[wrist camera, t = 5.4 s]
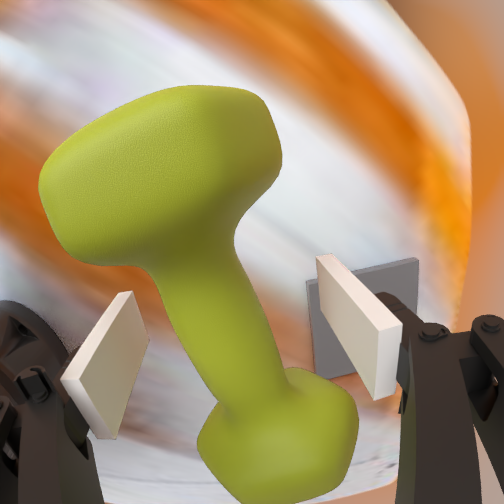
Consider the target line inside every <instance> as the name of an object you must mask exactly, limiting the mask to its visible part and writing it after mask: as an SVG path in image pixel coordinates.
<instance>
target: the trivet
mask: <svg viewBox="0 0 504 504" xmlns="http://www.w3.org/2000/svg"><path fill="white" fill-rule="evenodd" d="M351 273H352V274H353V275H354V276H355V277H356V278H357V279H358V280H359V281H360V282H361V283H362V284H364V285H365V286H366V287H367V288H368V289H369V290H370V291H371V292H372V293H373V294H376V293H380V292H387V293H389V294H392V295H394V296H396V297H397V298H398V299H399V300H400V301H401V302H402V303H403V304H405V305H406V306H407V308H409V309H410V310H411V311H412V312H413V313H414V314H415V315H416V312H417V297H418V275H419V260H418V259H416V258H414V257H413V258H409V259H405V260H400V261H396V262H392V263H387V264H383V265H378V266H374V267H369V268H365V269H360V270H356V271H351ZM306 287H307V296H308V305H309V315H310V325H311V335H312V346H313V358H314V370H315V374H317V375H319V376H321V377H323V378H325V379H331V378H335V377H339V376H343V375H347V374H350V373H354V372H357V370H356V369H355V367H354V365H353V363H352V362H351V360H350V358H349V357H348V355H347V353H346V351H345V350H344V348H343V346H342V345H341V343H340V341H339V340H338V338H337V336H336V334H335V333H334V331H333V329H332V328H331V326H330V324H329V323H328V321H327V319H326V318H325V316H324V314H323V313H322V311H321V307H320V296H319V285H318V279H313V280H308V281H306Z"/></svg>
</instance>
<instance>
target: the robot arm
mask: <svg viewBox="0 0 504 504" xmlns="http://www.w3.org/2000/svg"><path fill="white" fill-rule="evenodd" d="M316 265H317V275H318V285H319V296H320V307H321V311H322V313H323V314H324V316H325V318H326V319H327V321H328V323H329V324H330V326H331V328H332V329H333V331H334V333H335V334H336V336H337V338H338V340H339V341H340V343H341V345H342V346H343V348H344V350H345V351H346V353H347V355H348V357H349V358H350V360H351V362H352V363H353V365H354V367H355V369H356V370H357V372H358V374H359V376H360V377H361V379H362V381H363V383H364V384H365V386H366V388H367V390H368V391H369V393H370V395H371V397H372V398H373V400H374V401H375V400H378V399H381V398H384V397H387V396H389V395H392V394H395V390H396V383H397V381H398V383H399V384H400V386H401V387H402V389H403V390H402V396H401V401H400V407H399V412H398V414H401V435H400V455H399V469H398V481H397V491H396V499H395V504H482V496H481V481H480V471H479V460H478V452H477V446H476V438H475V432H474V426H475V428H476V430H477V432H478V435H479V437H480V439H481V441H482V443H483V445H484V448H485V450H486V452H487V454H488V457H489V459H490V461H491V464H492V466H493V469H494V471H495V473H496V476H497V478H498V481H499V483H500V486H501V489H502V491H503V494H504V320H503V319H502V318H500V317H497V316H495V315H481V316H479V317H477V318H475V319H474V321H473V323H472V328H471V331H467V332H460V333H451V332H450V331H449V329H448V328H446V327H445V326H443V325H440V324H437V323H424V322H423V321H422V320H421V319H420V318H419V317H418V316H417V315H415V314H414V313H413V312H412V311H411V310H410V309H409V308H407V306H406V305H405V304H403V303H402V302H401V301H400V300H399V299H398V298H397V297H396V296H394V295H392V294H389V293H387V292H380V293H376V294H373V293H372V292H371V291H370V290H369V289H368V288H367V287H366V286H365V285H364V284H362V283H361V282H360V281H359V280H358V279H357V278H356V277H355V276H354V275H353V274H352V273H351V272H350V271H349V270H348V269H347V268H346V267H345V266H344V265H343V264H342V263H341V262H340V261H339V260H338V259H337V258H336V257H335V256H333V255H332V254H327V255H322V256H316ZM149 341H150V339H149V337H148V334H147V331H146V328H145V326H144V323H143V320H142V317H141V314H140V311H139V308H138V305H137V302H136V299H135V296H134V293H133V291H127V292H121V293H118V294H117V296H116V297H115V298H114V300H113V301H112V303H111V304H110V305H109V307H108V308H107V310H106V311H105V312H104V314H103V315H102V317H101V318H100V319H99V321H98V322H97V324H96V325H95V327H94V328H93V330H92V331H91V333H90V334H89V335H88V337H87V338H86V340H85V341H84V343H83V344H82V346H79V347H78V348H76V349H75V350H74V351H73V352H72V353H71V354H70V355H69V356H68V354H67V352H66V350H65V348H64V346H63V344H62V343H61V341H60V340H59V338H58V337H57V336H56V334H55V333H54V332H53V331H52V329H51V328H50V327H49V326H48V325H47V324H46V323H45V322H44V321H43V320H42V319H41V318H40V317H39V316H38V315H36V314H35V313H34V312H32V311H31V310H29V309H28V308H26V307H24V306H23V305H20V304H18V303H15V302H12V301H0V504H105V503H104V499H103V495H102V491H101V487H100V483H99V478H98V474H97V469H96V464H95V459H94V453H93V448H92V444H91V441H90V440H89V438H88V437H87V433H88V431H89V428H90V429H91V430H92V432H93V433H94V435H95V436H96V438H97V439H116V437H117V434H118V431H119V428H120V425H121V421H122V418H123V415H124V412H125V409H126V406H127V403H128V400H129V397H130V394H131V391H132V388H133V385H134V382H135V379H136V377H137V374H138V371H139V368H140V365H141V363H142V360H143V357H144V354H145V351H146V349H147V346H148V343H149ZM494 377H495V378H496V379H497V381H498V383H497V381H496V380H495V378H494ZM473 424H474V426H473Z"/></svg>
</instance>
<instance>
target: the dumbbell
mask: <svg viewBox="0 0 504 504" xmlns="http://www.w3.org/2000/svg"><path fill="white" fill-rule="evenodd" d="M281 167H282V150H281V144H280V140H279V137H278V134H277V131H276V128H275V125H274V123H273V120H272V117H271V115H270V112H269V110H268V108H267V106H266V104H265V103H264V101H263V100H262V99H261V98H260V97H259V96H257V95H256V94H254V93H252V92H250V91H247V90H244V89H239V88H233V87H222V86H206V85H188V86H178V87H173V88H168V89H164V90H161V91H157V92H154V93H151V94H149V95H146V96H143V97H141V98H138V99H136V100H134V101H131V102H129V103H127V104H125V105H123V106H121V107H119V108H117V109H115V110H113V111H111V112H109V113H107V114H105V115H103V116H101V117H99V118H98V119H96V120H94V121H93V122H91V123H89V124H88V125H86V126H84V127H83V128H81V129H80V130H78V131H77V132H76V133H74V134H73V135H71V136H70V137H69V138H68V139H67V140H66V141H64V142H63V143H62V144H61V145H60V146H59V147H58V148H57V149H56V150H55V151H54V152H53V153H52V154H51V156H50V157H49V158H48V159H47V161H46V162H45V164H44V166H43V168H42V170H41V172H40V176H39V186H38V190H39V194H40V199H41V202H42V205H43V207H44V210H45V212H46V215H47V217H48V220H49V222H50V225H51V227H52V229H53V231H54V233H55V235H56V237H57V239H58V241H59V242H60V244H61V245H62V247H63V249H64V250H65V251H66V252H67V253H68V254H70V255H71V256H72V257H73V258H75V259H77V260H79V261H82V262H84V263H88V264H93V265H99V266H122V265H128V266H136V267H140V268H142V269H143V270H145V271H146V272H147V273H148V274H149V275H150V276H151V278H152V279H153V281H154V283H155V284H156V286H157V288H158V291H159V293H160V296H161V298H162V301H163V304H164V307H165V310H166V312H167V315H168V317H169V320H170V322H171V324H172V326H173V328H174V330H175V332H176V334H177V336H178V338H179V340H180V342H181V343H182V345H183V347H184V349H185V351H186V353H187V354H188V356H189V358H190V360H191V361H192V363H193V365H194V366H195V368H196V370H197V371H198V373H199V375H200V376H201V378H202V380H203V381H204V383H205V384H206V386H207V387H208V389H209V390H210V391H211V393H212V394H213V396H214V397H215V398H216V399H217V400H218V401H219V402H218V403H217V404H216V406H215V407H214V409H213V410H212V412H211V413H210V415H209V416H208V418H207V420H206V422H205V424H204V425H203V427H202V429H201V431H200V434H199V436H198V439H197V449H198V452H199V454H200V456H201V458H202V460H203V461H204V463H205V464H206V466H207V467H208V468H209V470H210V471H211V472H212V474H213V475H214V476H215V477H216V478H217V480H218V481H219V482H220V483H221V484H222V485H223V486H224V488H225V489H226V490H227V491H228V492H229V493H230V494H231V495H232V496H234V497H235V498H236V499H237V500H238V501H239V502H240V503H242V504H295V503H299V502H302V501H306V500H309V499H312V498H315V497H318V496H321V495H324V494H326V493H328V492H330V491H332V490H333V489H335V488H336V487H338V486H339V485H340V484H341V482H342V481H343V480H344V478H345V475H346V473H347V471H348V468H349V465H350V462H351V459H352V456H353V453H354V449H355V445H356V441H357V435H358V429H359V417H358V412H357V407H356V404H355V401H354V399H353V398H352V396H351V395H350V394H349V393H348V392H347V391H346V390H344V389H343V388H341V387H340V386H338V385H336V384H335V383H333V382H331V381H329V380H327V379H325V378H323V377H321V376H319V375H317V374H314V373H312V372H310V371H307V370H304V369H301V368H295V367H292V368H287V369H284V368H283V365H282V361H281V358H280V355H279V352H278V349H277V346H276V343H275V340H274V337H273V334H272V331H271V328H270V325H269V323H268V320H267V318H266V316H265V313H264V311H263V309H262V306H261V304H260V302H259V300H258V298H257V295H256V293H255V291H254V289H253V286H252V284H251V282H250V280H249V278H248V276H247V274H246V272H245V271H244V269H243V267H242V265H241V263H240V261H239V259H238V257H237V254H236V251H235V247H234V234H235V229H236V227H237V225H238V223H239V221H240V219H241V218H242V217H243V215H244V214H245V213H246V211H247V210H248V209H249V208H250V207H251V206H252V205H253V204H254V203H255V202H256V201H257V200H258V199H259V198H260V197H261V196H262V195H263V194H264V193H265V192H266V191H267V190H268V189H269V188H270V187H271V185H272V184H273V183H274V181H275V180H276V178H277V177H278V175H279V172H280V170H281Z"/></svg>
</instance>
